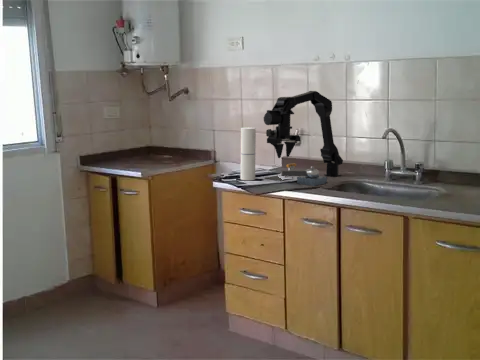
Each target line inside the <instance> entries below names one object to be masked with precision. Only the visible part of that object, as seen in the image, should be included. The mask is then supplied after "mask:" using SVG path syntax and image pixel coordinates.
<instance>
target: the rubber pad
mask: <svg viewBox="0 0 480 360" xmlns="http://www.w3.org/2000/svg"><path fill="white" fill-rule="evenodd" d="M264 179H266V180H273V181H277V180H280V182H282V181H281V180H282V179H281V178H279V177H278V174H277V175H272V176H267V177H264Z"/></svg>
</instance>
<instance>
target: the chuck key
mask: <svg viewBox="0 0 480 360" xmlns="http://www.w3.org/2000/svg"><path fill="white" fill-rule="evenodd" d="M295 167H297V163H296V162H295V163H288V164H286V168H287V169H288V170H295Z"/></svg>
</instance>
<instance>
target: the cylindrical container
mask: <svg viewBox="0 0 480 360" xmlns="http://www.w3.org/2000/svg"><path fill="white" fill-rule="evenodd" d="M256 129H257V128H256V127H251V126H250V127H248V126H247V127H240V180H241V181H254V180H256V148H257V145H256V142H257V141H256V139H257V138H256V135H257V134H256V133H257V132H256V131H257V130H256Z"/></svg>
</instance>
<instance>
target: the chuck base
mask: <svg viewBox="0 0 480 360" xmlns="http://www.w3.org/2000/svg"><path fill="white" fill-rule="evenodd" d="M327 179H328V176H325V175H319V177H306V176H296V183H297V184H300V185H307V186H313V187H317V186H321V185H324V184H328V183H327Z"/></svg>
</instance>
